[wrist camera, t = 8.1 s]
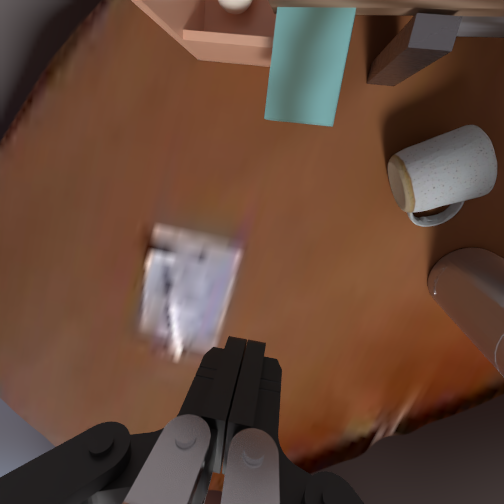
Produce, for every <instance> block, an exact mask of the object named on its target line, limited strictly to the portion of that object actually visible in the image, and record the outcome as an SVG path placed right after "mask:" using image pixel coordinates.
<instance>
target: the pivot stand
mask: <svg viewBox="0 0 504 504" xmlns="http://www.w3.org/2000/svg"><path fill="white" fill-rule="evenodd" d="M462 17H463V16H452V15H438V14H425V13H417V14H416V15H415V16H414V17H413V18H412V19H411V20H410V21H409V22H408V23H407V24H406V26H405V27H404V28H403V29H402V30H401V31H400V32H399V33H398V34H397V35H396V37H395V38H394V39H393V40H392V41H391V42H390V43H389V44H388V45H387V46H386V47H385V49H384V50H383V51H382V52H381V53H380V54H379V55H378V56H377V57H376V58H375V60H374V61H373V62H372V63H371V67H370V72H369V76H368V80H367V84H377V85H387V86H395V85H397V84H398V83H400V82H402V81H403V80H405V79H407V78H408V77H410V76H412V75H413V74H415V73H416V72H418V71H420V70H421V69H423V68H425V67H426V66H428V65H430V64H431V63H433V62H435V61H436V60H438V59H440V58H441V57H443V56H444V55H446V54H448V53H449V52H451V51H452V48H453V45H454V42H455V39H456V36H457V33H458V30H459V26H460V23H461V20H462Z"/></svg>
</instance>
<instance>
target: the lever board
mask: <svg viewBox="0 0 504 504" xmlns="http://www.w3.org/2000/svg"><path fill="white" fill-rule="evenodd" d="M268 2H269V4H270V6H271V8H272V10H273V12H274V14H276V23H275V31H274V40H273V48H272V57H271V65H270V74H269V82H268V91H267V99H266V108H265V116H264V119H267V120H273V121H283V122H293V123H303V124H312V125H322V126H332V127H333V123H334V118H335V113H336V108H337V103H338V98H339V94H340V89H341V84H342V79H343V74H344V69H345V64H346V59H347V54H348V49H349V44H350V39H351V34H352V29H353V24H354V19H355V15H412V16H415V15H416V14H417V13H425V14H438V15H452V16H463V17H462V20H461V23H460V26H459V30H458V33H457V36H464V37H501V38H504V0H268Z"/></svg>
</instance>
